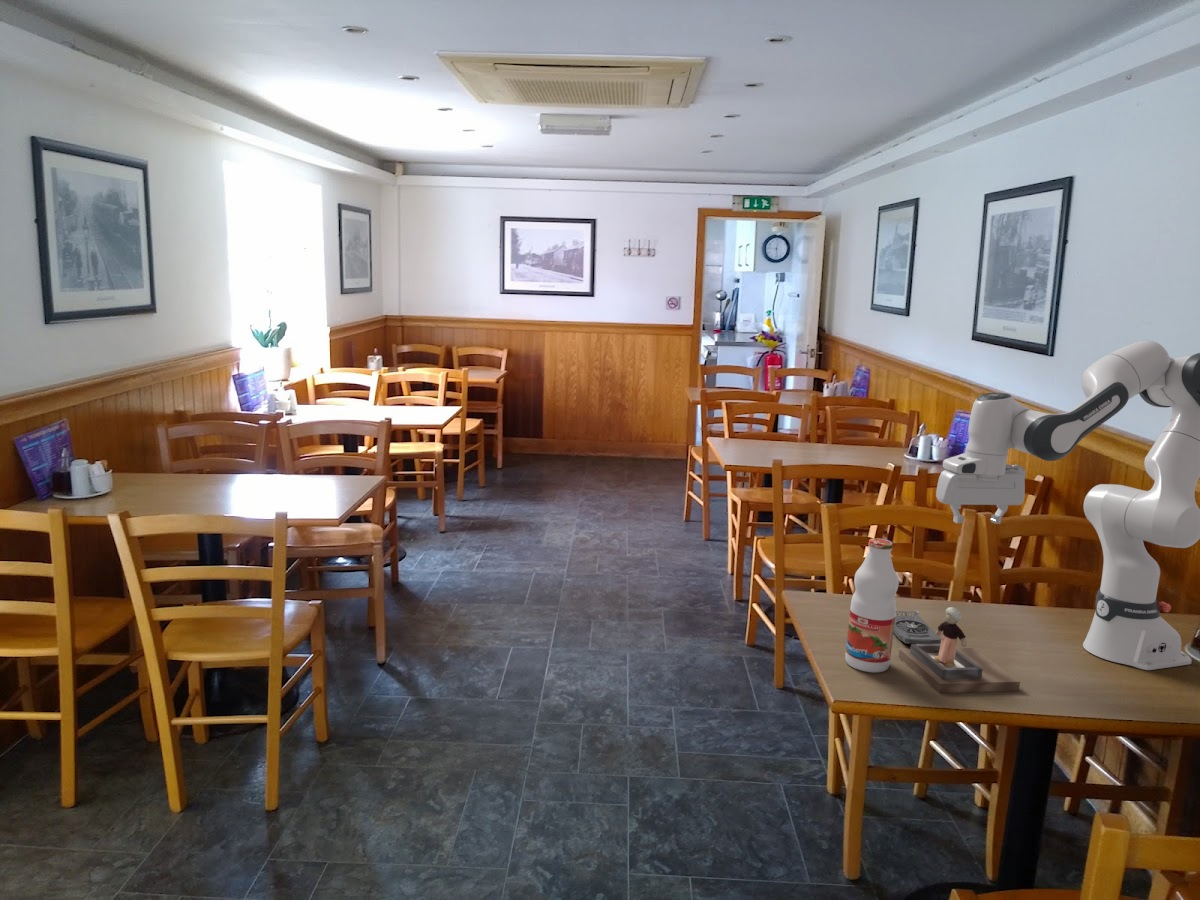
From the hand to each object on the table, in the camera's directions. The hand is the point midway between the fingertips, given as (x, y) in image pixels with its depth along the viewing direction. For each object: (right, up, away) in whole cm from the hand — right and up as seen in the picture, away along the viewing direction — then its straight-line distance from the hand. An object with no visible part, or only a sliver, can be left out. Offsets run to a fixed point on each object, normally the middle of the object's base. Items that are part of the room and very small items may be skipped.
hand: (976, 522), depth 199 cm
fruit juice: (-28, -30, -10) cm, 43 cm away
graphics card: (-14, -28, +8) cm, 32 cm away
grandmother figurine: (-12, -29, -13) cm, 34 cm away
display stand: (-10, -32, -12) cm, 35 cm away
